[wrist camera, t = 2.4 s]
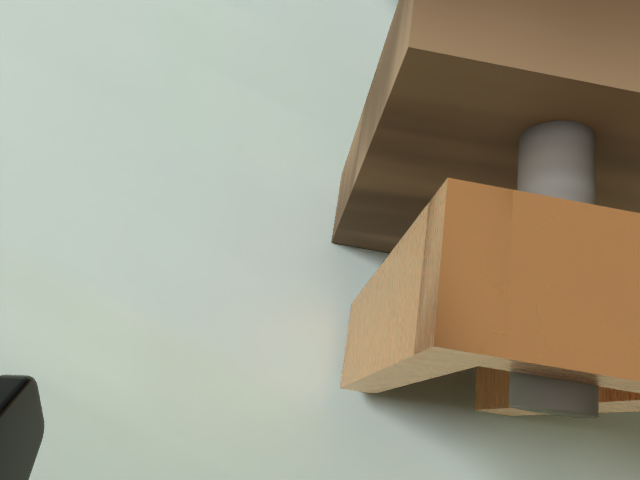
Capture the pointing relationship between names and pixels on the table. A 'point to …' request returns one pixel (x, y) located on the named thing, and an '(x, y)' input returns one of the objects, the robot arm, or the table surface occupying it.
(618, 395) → the C-link
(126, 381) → the table surface
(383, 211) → the walnut stand
